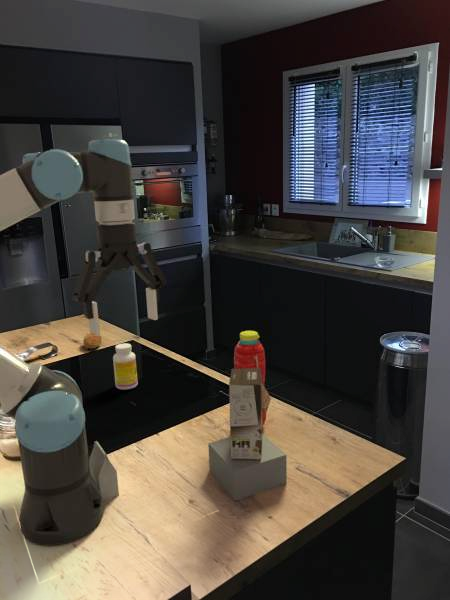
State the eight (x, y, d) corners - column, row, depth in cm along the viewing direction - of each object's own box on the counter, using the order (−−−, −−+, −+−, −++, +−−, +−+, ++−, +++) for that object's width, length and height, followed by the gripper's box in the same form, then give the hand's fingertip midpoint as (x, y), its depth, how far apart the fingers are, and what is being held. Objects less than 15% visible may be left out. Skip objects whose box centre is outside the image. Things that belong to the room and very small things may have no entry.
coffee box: (262, 460, 105) (261, 384, 101) (230, 459, 105) (227, 384, 102) (263, 437, 114) (262, 367, 110) (233, 437, 114) (231, 367, 110)
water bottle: (278, 437, 127) (277, 339, 120) (247, 443, 124) (245, 344, 118) (259, 415, 138) (257, 324, 131) (230, 421, 135) (227, 328, 129)
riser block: (234, 502, 103) (233, 471, 102) (209, 472, 114) (208, 443, 112) (286, 484, 108) (286, 454, 107) (257, 457, 119) (257, 429, 117)
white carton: (101, 503, 104) (96, 458, 102) (91, 486, 110) (86, 443, 108) (119, 496, 106) (114, 452, 104) (108, 480, 112) (103, 438, 109)
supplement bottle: (140, 388, 157) (136, 347, 154) (118, 392, 155) (114, 351, 152) (135, 379, 163) (131, 340, 160) (113, 383, 161) (110, 344, 158)
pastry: (102, 349, 191) (101, 339, 190) (83, 350, 189) (82, 340, 188) (101, 341, 200) (101, 331, 199) (83, 342, 198) (82, 333, 197)
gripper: (63, 230, 92) (76, 345, 97) (178, 217, 108) (184, 316, 113) (46, 227, 98) (59, 336, 103) (158, 215, 113) (164, 309, 119)
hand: (125, 325), depth 108 cm, fingers open, 13 cm apart
